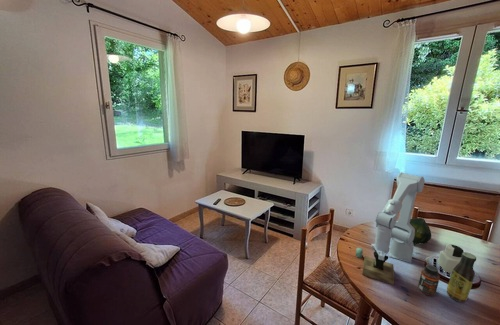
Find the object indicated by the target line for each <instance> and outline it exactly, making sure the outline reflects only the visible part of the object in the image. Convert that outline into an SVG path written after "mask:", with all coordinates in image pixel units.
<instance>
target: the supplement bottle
mask: <svg viewBox="0 0 500 325" xmlns="http://www.w3.org/2000/svg"><path fill="white" fill-rule="evenodd" d="M439 282H440V274H439V269H438V268H437V267H436V266H435V265H433V264H426V265H425V267H424V268H422V269H421V271H420V276H419V280H418V285H417V288H418V290H419V291H420V292H421V293H422V294H425V295H427V296H430V297H432V296H433V297H434V296H435V295H436V294H437V290H438V286H439Z"/></svg>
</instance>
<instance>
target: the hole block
mask: <svg viewBox="0 0 500 325" xmlns="http://www.w3.org/2000/svg"><path fill="white" fill-rule="evenodd" d="M363 258H364V259H363V266H362V276H366V277H369V278H372V279H373V280H374V279H375V280H378V281H381V282H384V283H386V284H390V285H394V283H395V269H394V267H395V266H394V264H393V263H389V262H387V261H385V262H384V264H383V266H382V268H381V269H377V268H374V263H375V258H373V257H370V256H366V255H364V257H363Z"/></svg>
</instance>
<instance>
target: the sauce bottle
mask: <svg viewBox="0 0 500 325" xmlns="http://www.w3.org/2000/svg"><path fill="white" fill-rule="evenodd" d="M476 261H477V256H476V255H474V254H472V253H469V252H467V251H465V252H463V253H462V255H461V260H460V262H459V264H457V265H456V266H455V268H454V269H453V271H452V274H450V277H449V281H448V284H447V287H446V294H447V296H448V297H450V299H453V300H454V301H456V302H460V303H465V302H466V301H467V300H468V297H469V295H470V292H471V289H472V287H473V283H474V278H475V277H476V272H475V270H474V265H475V262H476Z"/></svg>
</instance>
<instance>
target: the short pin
mask: <svg viewBox="0 0 500 325" xmlns="http://www.w3.org/2000/svg"><path fill="white" fill-rule="evenodd" d="M355 252H356V253H355V257H357V258H358V259H362V257H363V255H364V254H363V252H364V249H363V248H362V247H356V250H355Z"/></svg>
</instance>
